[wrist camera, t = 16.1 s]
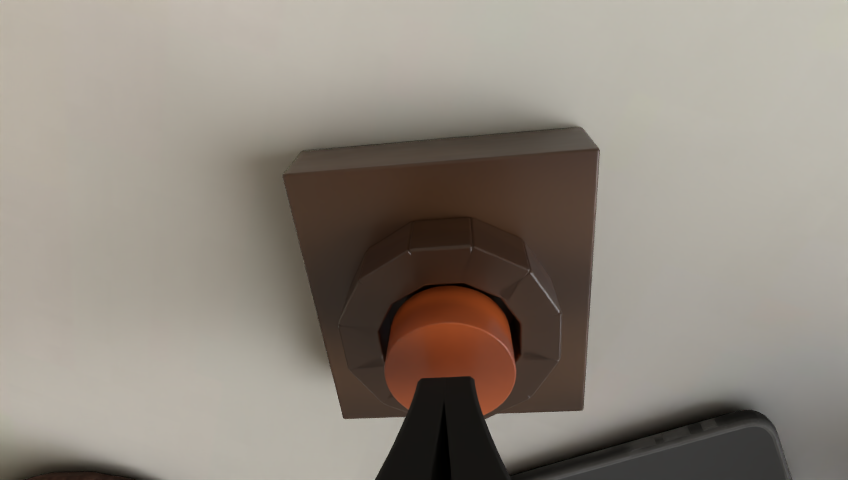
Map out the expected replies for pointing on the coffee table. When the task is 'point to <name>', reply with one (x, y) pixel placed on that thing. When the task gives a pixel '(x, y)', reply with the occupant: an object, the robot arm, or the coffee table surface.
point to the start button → (451, 344)
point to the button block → (452, 252)
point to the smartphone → (684, 454)
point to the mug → (77, 476)
